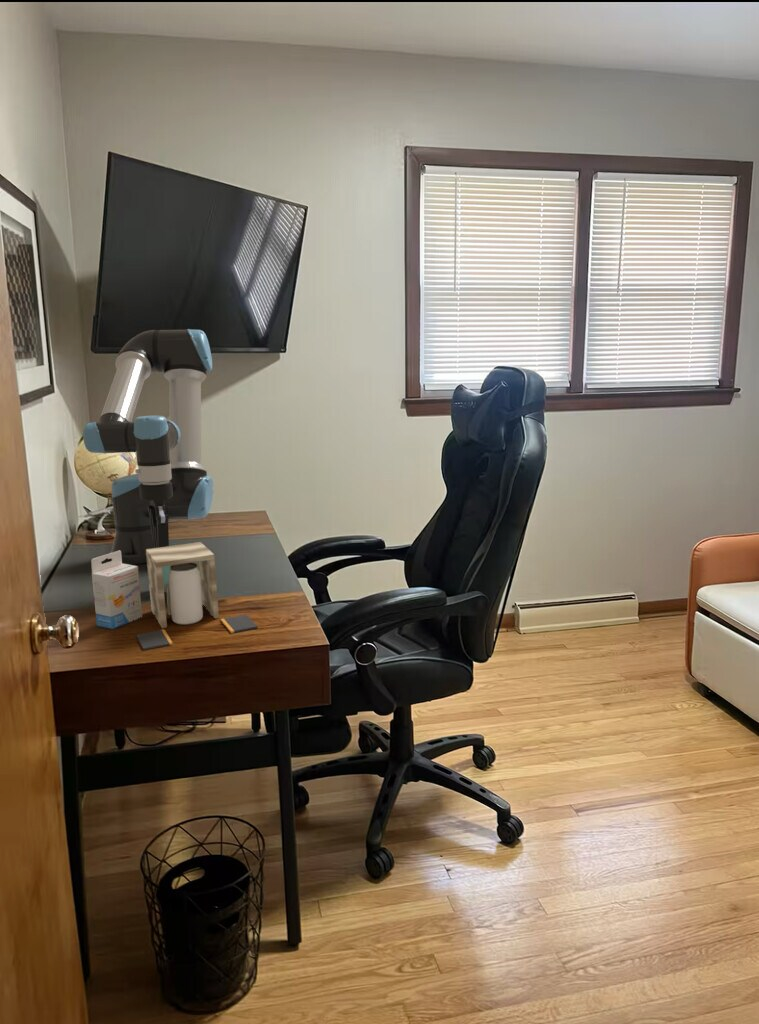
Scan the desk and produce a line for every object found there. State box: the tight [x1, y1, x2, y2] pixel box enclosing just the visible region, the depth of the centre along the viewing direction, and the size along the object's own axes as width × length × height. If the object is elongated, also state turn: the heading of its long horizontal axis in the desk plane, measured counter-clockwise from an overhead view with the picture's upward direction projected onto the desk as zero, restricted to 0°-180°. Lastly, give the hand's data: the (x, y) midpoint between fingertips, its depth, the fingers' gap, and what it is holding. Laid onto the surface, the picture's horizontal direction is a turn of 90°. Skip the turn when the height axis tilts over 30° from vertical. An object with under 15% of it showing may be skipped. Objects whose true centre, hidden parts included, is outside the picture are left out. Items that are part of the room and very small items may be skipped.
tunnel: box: [146, 541, 220, 629], centre depth 162 cm, size 12×12×14 cm
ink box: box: [90, 550, 143, 630], centre depth 159 cm, size 8×5×15 cm, turn 152°
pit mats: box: [135, 614, 259, 651], centre depth 153 cm, size 8×23×1 cm, turn 117°
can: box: [169, 562, 204, 626], centre depth 159 cm, size 6×6×12 cm
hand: (163, 577), depth 181 cm, fingers closed
